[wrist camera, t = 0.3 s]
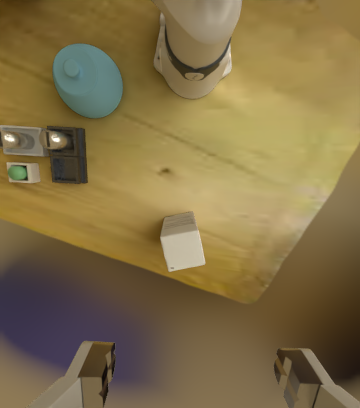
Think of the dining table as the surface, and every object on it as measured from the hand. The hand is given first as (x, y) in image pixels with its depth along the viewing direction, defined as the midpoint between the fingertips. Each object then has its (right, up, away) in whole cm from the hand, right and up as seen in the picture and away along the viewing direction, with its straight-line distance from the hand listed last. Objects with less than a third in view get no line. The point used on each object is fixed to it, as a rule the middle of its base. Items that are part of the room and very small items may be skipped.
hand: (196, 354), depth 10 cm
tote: (-41, +24, +42) cm, 63 cm away
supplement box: (0, 0, +49) cm, 49 cm away
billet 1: (-41, +24, +42) cm, 63 cm away
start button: (-42, +16, +42) cm, 62 cm away
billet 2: (-30, +24, +41) cm, 56 cm away
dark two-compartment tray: (-30, +20, +43) cm, 56 cm away
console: (-42, +16, +44) cm, 63 cm away
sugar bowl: (-22, +37, +40) cm, 58 cm away
